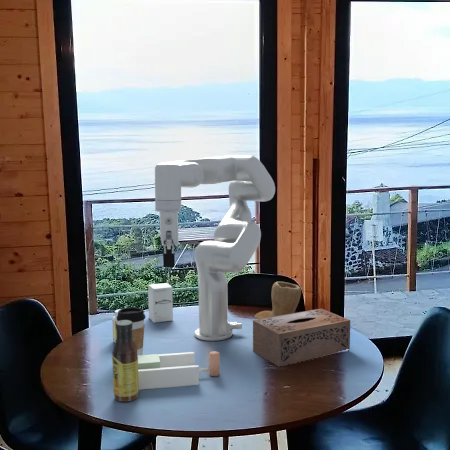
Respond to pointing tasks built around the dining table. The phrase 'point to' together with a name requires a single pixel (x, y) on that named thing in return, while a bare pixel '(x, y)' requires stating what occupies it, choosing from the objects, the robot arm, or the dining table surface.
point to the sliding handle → (154, 362)
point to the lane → (170, 372)
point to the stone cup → (282, 300)
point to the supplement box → (160, 302)
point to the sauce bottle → (125, 364)
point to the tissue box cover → (300, 336)
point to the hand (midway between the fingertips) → (168, 263)
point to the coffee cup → (134, 325)
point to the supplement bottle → (115, 325)
